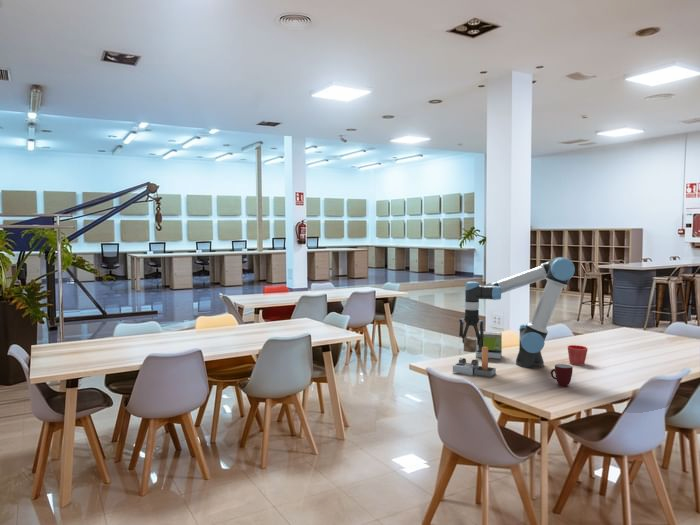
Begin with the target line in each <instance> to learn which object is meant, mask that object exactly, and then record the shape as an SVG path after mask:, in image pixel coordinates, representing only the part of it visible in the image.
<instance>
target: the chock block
mask: <svg viewBox="0 0 700 525" xmlns="http://www.w3.org/2000/svg"><path fill="white" fill-rule="evenodd" d="M476 339H477V337H476V336H466V338H465V339H464V343H463V352H466V353H468V352H469V353H476ZM478 350H479V345H478Z"/></svg>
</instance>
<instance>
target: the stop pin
mask: <svg viewBox="0 0 700 525" xmlns="http://www.w3.org/2000/svg"><path fill="white" fill-rule="evenodd" d="M481 366H482V370H483V371H488V367H489V358H488V347H482V357H481Z"/></svg>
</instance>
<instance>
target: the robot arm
mask: <svg viewBox="0 0 700 525" xmlns="http://www.w3.org/2000/svg"><path fill="white" fill-rule="evenodd" d="M575 270H576V268H575V264H574V263H573V262H572V260H571V259H569V258H567V257H564V256H556V257H554V258H551V259H550V260H549V261H546V262H542V263H541V264H540V266H537V267H534V268H531V269H528V270H526V271H522V272H520V273H517V274H514V275H511V276H508V277H505V278H502V279H500V280H497V281H494V282H489V283H487V284H485V285H481V284H480V282H479V281H467V282H466V283H465V291H464V292H465V293H464V294H465V295H464V296H465V299H464V301H465V302H464V308H465V309H464V318H460V319H459V334H458V336H459V337H461V338H462V342H461V343H462V344H464V339H465V338H466V337H467V334H468V331H469V329H470V326H472V327H473V329H474V332H475V337H476V336H477V339H476V351H478V345H480V339H482V338H484V332H485V330H484V323H485V320H481V319H480V318H479V317H480V316H479V315H480V312H479V311H480V310H479V308H480V300H493V301H495V300H496V301H499V300H501V299H502V294H505V293H507V292H510V291H512V290H516V289H519V288H521V287H525V286H528V285H530V284H534V283H537V282H539V281H543V280H546V284H545V286H544V288H543V291H542V293H541V296H540V298H539V301H538V303H537V306H536V309H535V311H534V314H533V316H532V318H531V320H530V322H528V323H526V324H520V325H519V345H518V346H519V347H518V348H519V349H518V353H517V356H516V359H515V365H517V366H519V367H524V368H531V369H532V368H533V369H534V368H537V369H538V368H542V367H544V366H545V361H544V359H543V358H544V357H543V354H542V350H543V349H544V346H545V341H546V339H547V337H548V333H549V332H548V329H547V327H548V325H549V323H550V320H551V318H552V315H553V314H554V311H555V308H556V306H557V304H558V301H559V298H560V296H561V294H562V292H563V288H566V287H567V286H568V285H569V283H570V280H571V279H572V277H573V276H574V275H575ZM464 322H465V323H466V324H465V328H464ZM478 323H479V327H478ZM479 331H480V334H479Z"/></svg>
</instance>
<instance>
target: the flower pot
mask: <svg viewBox="0 0 700 525" xmlns="http://www.w3.org/2000/svg"><path fill="white" fill-rule="evenodd" d="M567 352H568V353H567V354H568V360H569V364H571V365H574V366H585V362H586V360H587V354H588V347H587V346H583V345H576V344H570V345H567Z"/></svg>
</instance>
